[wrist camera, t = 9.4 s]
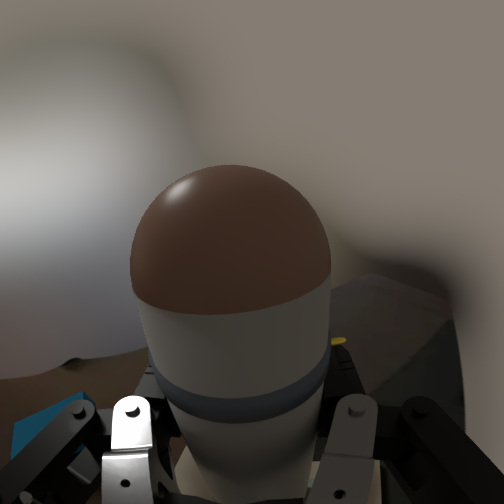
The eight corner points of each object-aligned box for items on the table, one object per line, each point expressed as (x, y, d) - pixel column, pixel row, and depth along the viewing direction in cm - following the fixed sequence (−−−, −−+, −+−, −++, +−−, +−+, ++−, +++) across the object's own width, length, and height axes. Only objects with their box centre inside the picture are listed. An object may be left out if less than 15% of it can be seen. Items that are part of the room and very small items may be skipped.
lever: (50, 486, 17) (150, 451, 23) (10, 459, 14) (111, 419, 20) (48, 451, 23) (137, 412, 29) (14, 423, 20) (105, 378, 26)
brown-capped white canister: (200, 515, 9) (61, 190, 4) (226, 448, 14) (175, 173, 9) (301, 530, 8) (347, 152, 3) (312, 456, 13) (326, 161, 8)
